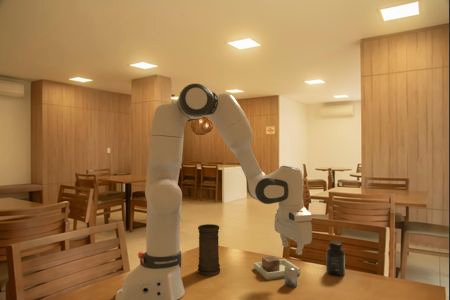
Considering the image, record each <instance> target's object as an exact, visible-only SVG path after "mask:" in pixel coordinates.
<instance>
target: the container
mask: <svg viewBox="0 0 450 300" xmlns="http://www.w3.org/2000/svg"><path fill="white" fill-rule="evenodd" d="M197 229H198V264H197V274H198V275H202V276H204V277H205V276H206V277H211V276H217V275H219V274H220V272H221V267H220V266H221V265H220V257H219V230H220V226H219V225H217V224H211V223H208V224H201V225H199V226H198V227H197Z"/></svg>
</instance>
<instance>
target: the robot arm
mask: <svg viewBox="0 0 450 300" xmlns="http://www.w3.org/2000/svg"><path fill="white" fill-rule="evenodd" d="M204 117H206V118H207V119H208V118H209V119H210V120H211V121H212V123H213V124H214V126H215V128H216V130H217V132H218V134H219V135H220V138H221V139H222V140H223V142H224V143H225V145H226V146H227V147H228V149H229V150H230V151H231V152H232V153H233V155H234V156H235V157H236V160H237V161H238V163H239V166H240V168H241V170H242V172H243V174H244V176H245V178H246V179H245V180H246V189H247V192H248V194H249V195H250V197H251V198H252V199H254V200H256V201H258V202H260V203H262V204H265V205H272V204H277V203H278V208H277V209H276V213H275V215H274V222H273V223H274V224H273V225H274V226H273V227H274V231H275V232H276V233H278V234H280V235H279V236H280V240H281V245H282V247H284V248H288V247H289V241H288V239H290V240H292V241H294V242H295V243H296V245H297V247H296V248H295V254H296V255H298V256H300V255H301V256H302V255H303V249H304V246H305V245H309V244H311V243H312V241H313V240H312V239H313V226H312V222H311V221H312V220H313V215H312V213H311V212H310V211H308V209H307V208H306V207H305V201H304V198H303V197H304V196H303V195H304V179H303V173H302V171H301V169H300V168H299V167H294V166H288V165H281V166H279V168H278V169H276V170H275V171H272V172H271V173H268V174H266V173H265V172H264V171H263V170H262V169H261V167H260V165H259V162H258V161H257V159H256V156H255V154H254V153H253V149H252V143H253V139H254V132H253V129H252V126H251V123H250V121H249V119H248V117H247V115H246V113H245V111H244V110H243V109H242V107H241V105H240V104H239V103H238V101H237V99H235V97H234V96H233V95H232V94H230V93H226V92H224V93H219V94H217V93H215V92H214V91H212V90H211V89H209V88H208V87H206V86H205V85H203V84H200V83H190V84H188V85H186V86H184V87H183V89H181V92H180V93H179V96H178V97H177V101H175V102H174V103H162V104H160V105H158V106H157V107H156V108H155V110H154V114H153V118H152V122H151V128H150V137H149V138H150V139H149V149H148V151H149V152H148V160H147V161H148V162H147V171H146V180H145V188H144V189H145V190H144V195H145V198H146V199H145V200H146V230H145V231H146V233H145V235H146V236H145V237H146V238H145V241H146V243H145V244H146V249H145V252H143V251H139V252H138V253H137V256H138V258H139V265H138V266H136V267H135V268H134V269H133V270H131V271H130V272H128V274H126V276H125V277H124V280H123V284H122V288H120V289H118V290H117V292H116V293H115V299H114V300H180V299H181V298H182V297H183V296H184V295H185V293H186V291H185V287H184V283H183V278H182V260H183V259H182V251H181V247H180V244H181V243H180V242H181V241H180V239H181V238H180V236H181V235H180V233H181V231H180V230H181V229H180V227H181V220H182V207H183V206H182V205H183V204H182V203H183V192H182V189H181V188H180V186H179V185H178V184H179V177H180V171H181V166H182V163H183V153H184V152H183V150H184V138H185V135H184V134H185V127H186V124H187V122H191V121H197V120H199V119H202V118H204Z"/></svg>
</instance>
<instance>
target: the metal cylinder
mask: <svg viewBox="0 0 450 300" xmlns="http://www.w3.org/2000/svg"><path fill="white" fill-rule="evenodd" d="M296 267H297V266H296ZM296 267H293V266H287V267H285V277H284V287H286V288H290V289H291V288H293V289H294V288H297V287H298V275H297V268H296Z"/></svg>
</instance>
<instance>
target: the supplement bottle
mask: <svg viewBox="0 0 450 300" xmlns="http://www.w3.org/2000/svg"><path fill="white" fill-rule="evenodd" d="M325 252H326V255H325V256H326V258H325V259H326V262H325V263H326V264H325V265H326V266H325V267H326V270H325V271H326V273H327V274H328V275H329V276H331V277H343V276H344V275H345V274H346V265H345V264H346V253H345V250H344V249H343V243H342V242H341V241H338V240H330V241H329V242H328V248H327V249H326V251H325Z"/></svg>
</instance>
